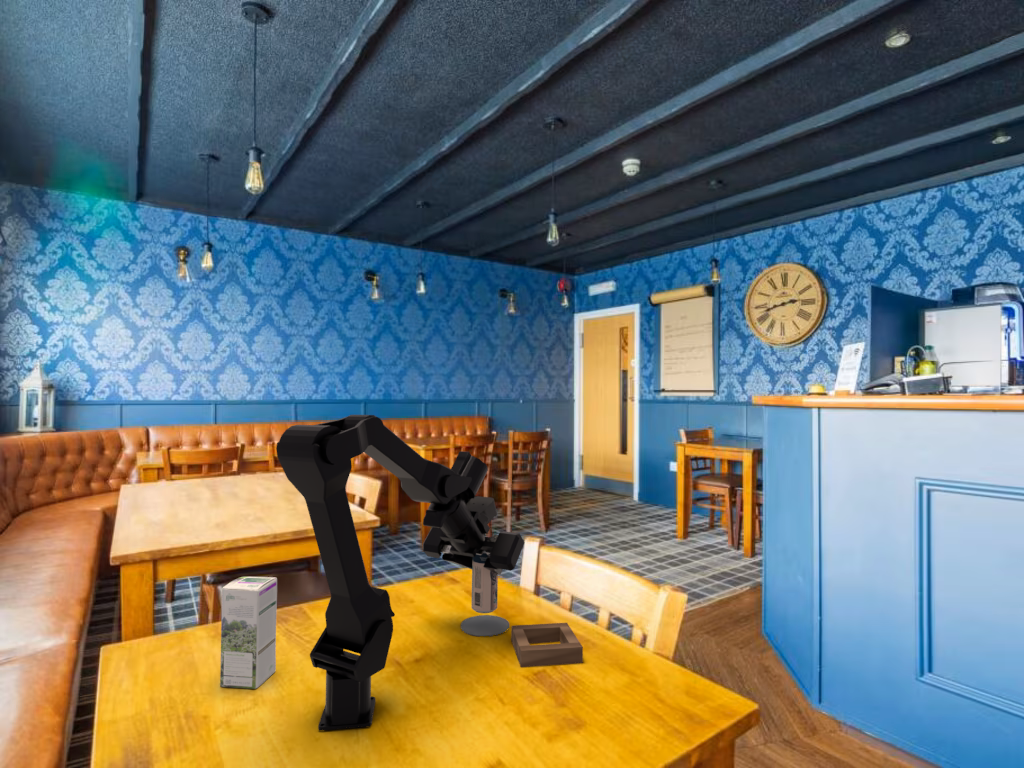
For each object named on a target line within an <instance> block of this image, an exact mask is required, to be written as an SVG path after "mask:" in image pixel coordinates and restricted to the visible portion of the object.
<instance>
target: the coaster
mask: <svg viewBox="0 0 1024 768" xmlns="http://www.w3.org/2000/svg"><path fill="white" fill-rule="evenodd" d="M508 628H509V629H510V622H509V621H508V620H507V619H506V618H504V617H501V616H498V615H492V614H491V615H489V614H481V615H475V616H471V617H468V618H465V619H464V620H462V621H461V623H460V630H461V629H462V630H461V631H462V632H463V631H464V632H463V633H464V634H467V635H468V636H469V635H470V636H474V637H480V636H484V637H485V636H489V637H494V636H493V635H496V636H499V635H498V634H500V635H502V634H504V633H503V632H505V631H506V630H507V629H508ZM509 629H508V630H509ZM508 630H507V631H508ZM507 631H506V632H507ZM506 632H505V633H506ZM501 633H502V634H501ZM484 637H483V638H484Z"/></svg>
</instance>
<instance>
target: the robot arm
mask: <svg viewBox="0 0 1024 768" xmlns="http://www.w3.org/2000/svg"><path fill="white" fill-rule="evenodd" d="M275 450H276V456H277V458H278V461H279V463H280V466H281V468H282V470H283V472H284V474H285V477H286V478H287V480H288V481H289V482H290V484H292V485H293V486H294V488H295V489H296V490H297V491H298V492H299V493H300V495H301V496H302V497H303V498H304V500H305V503H306V507H307V510H308V511H307V512H308V515H309V518H310V522H311V527H312V529H313V533H314V537H315V541H316V543H317V548H318V551H319V555H320V559H321V563H322V565H323V570H324V574H325V578H326V580H327V581H326V582H327V585H328V589H329V592H330V599H329V600H328V601H329V602H328V604H327V606H326V609H325V613H324V616H325V625H326V626H325V628H323V629H324V630H323V631H322V633H321V635H320V636H319V638H318V639H317V641H316V642H315V644H314V646H313V648H312V649H311V651H310V653H309V658H310V660H311V663H312V668H316V669H317V668H319V669H321V670H325V705H324V708H323V710H322V714H321V717H320V719H319V722H318V726H317V727H318V728H317V729H318V730H319V731H331V730H334V731H335V730H343V729H344V730H345V729H354V728H356V729H357V728H367V727H368V728H369V727H370V726H372V723H373V717H374V712H375V705H376V697H375V696H371V695H372V694H371V691H372V689H371V688H372V676H374V675H376V674H377V673H379V672H380V671H382V670H384V669H385V668H386V664H387V660H388V659H387V658H388V655H389V650H390V646H391V642H392V637H393V632H394V622H393V617H395V612H394V611H393V609H392V605H391V600H390V599H391V598H390V594H389V592H388V590H387V589H383V588H381V587H380V588H379V587H374V586H372V585H370V581H369V578H368V575H367V571H366V567H365V563H364V559H363V554H362V550H361V547H360V542H359V539H358V534H357V531H356V526H355V523H354V522H355V521H354V519H353V515H352V511H351V510H352V509H351V506H350V503H349V499H348V498H349V497H348V495H347V490H346V487H347V484H348V480H349V478H350V474H351V471H352V466H353V465H352V459H353V458H356V457H358V456H360V455H362V454H366V455H367V456H369V458H371V459H372V460H374V461H375V462H376V463H378V464H379V465H380V466H381V467H383V468H385V470H387V471H388V472H390V473H391V474H392V475H394V476H395V477H397V478H398V480H399V481H400V486H401V488H402V491H404V493H405V494H406V495H407V497H409V499H410V500H412V501H414V502H417V503H429V506H428V507H427V508H428V509H426V510H425V515H424V517H423V521H422V525H423V526H425V527H431V528H430V530H429V532H428V534H427V536H426V538H425V539H424V541H423V543H422V550H423V552H424V554H425V555H426V556H427V557H429V558H435V559H439V558H441V559H442V560H443V561H445V562H448V563H452V564H453V565H454V564H455V565H458V566H461V567H464V568H466V569H470V570H472V557H475V555H476V554H477V555H483V553H484V551H486V554H487V555H488V556H487V559H486V561H485V564H484V566H483V567H484V568H486V569H488V570H490V571H492V572H494V573H496V574H498V576H501V575H502V573H503V571H509V572H510V571H513V570H514V569H515V568H516V565H517V562H518V561H519V557H520V556H521V553H522V551H523V548H524V545H525V541H524V539H523V537H522V535H521V534H520V533H517V532H511V531H505V530H504V531H500V532H498V534H493V535H491V536H490V537H489V536H485V534H486V535H488V534H489V531H490V529H491V527H490V526H489V524H490V523H491V522H492V520H493V519H494V517H496V516H497V515H498V512H497V508H496V507H497V506H496V502H495V499H494V498H493V497H491V496H490V497H489V496H488V497H487V496H480V495H477V493H478V492H479V489H480V487H481V485H482V483H483V481H484V479H485V476H487V473H488V471H489V470H488V469H489V468H488V465H487V463H485V462H483V461H482V460H481V459H479V458H478V457H476V456H474V455H472V454H471V453H470V451H462V450H461V451H458V454H457V455H456V459H455V460H454V462H453V464H452V466H451V468H450V467H447V466H446V465H444V464H442V463H439V462H435V461H432V460H429V459H426V458H424V457H423V456H421V454H419V453H418V452H417V451H416V450H415V449H413V448H412V447H411V446H410V445H409V444H407V443H406V442H405V441H404V440H403V439H402V438H401V437H399V436H398V435H397V434H396V433H394V432H393V431H392V430H391V429H389V427H387V426H386V425H385V424H384V422H383V420H382V419H381V418H380V417H378V416H377V415H375V414H350V415H348V416H345V417H342V418H339V419H336V420H335V419H334V420H330V421H327V422H321V423H317V424H295V425H291V426H290V427H287V428H286V429H285V431H283V433H282V434H281V437H280V438H279V441H278V442H277V443H276V448H275ZM476 495H477V496H476ZM349 651H350V652H349Z"/></svg>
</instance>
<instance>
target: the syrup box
mask: <svg viewBox="0 0 1024 768" xmlns="http://www.w3.org/2000/svg"><path fill="white" fill-rule="evenodd" d="M277 603H278V578H277V577H273V576H269V577H268V576H245V575H244V576H241V577H238V578H236V579H233V580H232V581H230V582H229V583H227V584H225V585H224V586H223V587H222V589H221V620H220V621H221V623H220V624H221V626H220V631H221V632H220V633H221V634H220V673H219V674H220V675H219V677H220V678H219V681H220V683H219V687H221V688H233V689H235V688H237V689H251V690H254V689H255V690H256V689H258V688H259V687H260V686H261V685H263V684H264V682H266V681H267V680H268V679H269V678H270V677H271V676H272V675H273V674H274V673H276V670H277V668H276V665H277V663H276V661H277V659H276V657H277V655H276V651H277V650H276V647H277V645H276V643H277V605H278V604H277Z"/></svg>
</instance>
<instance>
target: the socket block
mask: <svg viewBox="0 0 1024 768" xmlns="http://www.w3.org/2000/svg"><path fill="white" fill-rule="evenodd" d="M510 631H511V632H510V633H511V634H510V635H511V636H510V637H511V638H510V641H511V644H512V646H513V650H514V653H515V654H516V657H517V661H518V663H519V665H520V668H527V667H528V668H529V667H542V666H556V665H557V666H559V665H571V664H574V665H575V664H583V663H584V662H583V661H584V658H583V657H584V653H583V651H584V649H583V645H582V644H581V642H580V640H579V639H578V638H577V636H576V634H575V632H574V631H573V630H572V628H571V627H570V625H569V624H568V622H555V623H538V624H536V623H535V624H520V625H519V624H518V625H517V624H516V625H511V629H510ZM558 642H559V643H558ZM544 643H545V644H544ZM547 643H548V644H547ZM531 644H532V645H531Z"/></svg>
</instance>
